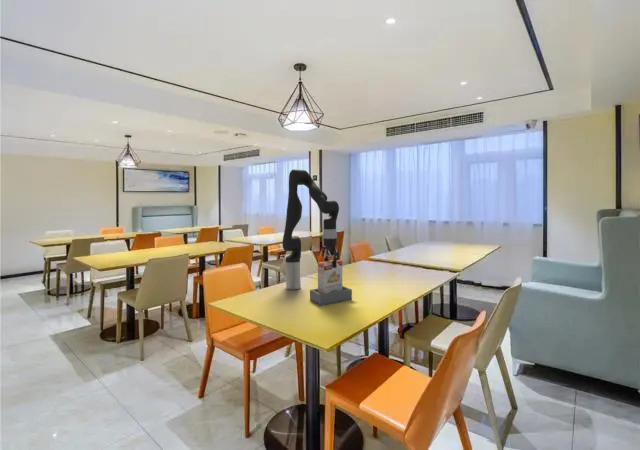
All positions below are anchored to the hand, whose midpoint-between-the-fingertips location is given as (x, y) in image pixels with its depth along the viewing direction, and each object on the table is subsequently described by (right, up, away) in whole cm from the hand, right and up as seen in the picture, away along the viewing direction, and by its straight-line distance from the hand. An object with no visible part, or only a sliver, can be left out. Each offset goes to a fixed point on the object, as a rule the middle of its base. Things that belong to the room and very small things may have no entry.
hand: (330, 266), depth 186 cm
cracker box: (0, -18, +2) cm, 18 cm away
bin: (0, -19, +1) cm, 19 cm away
